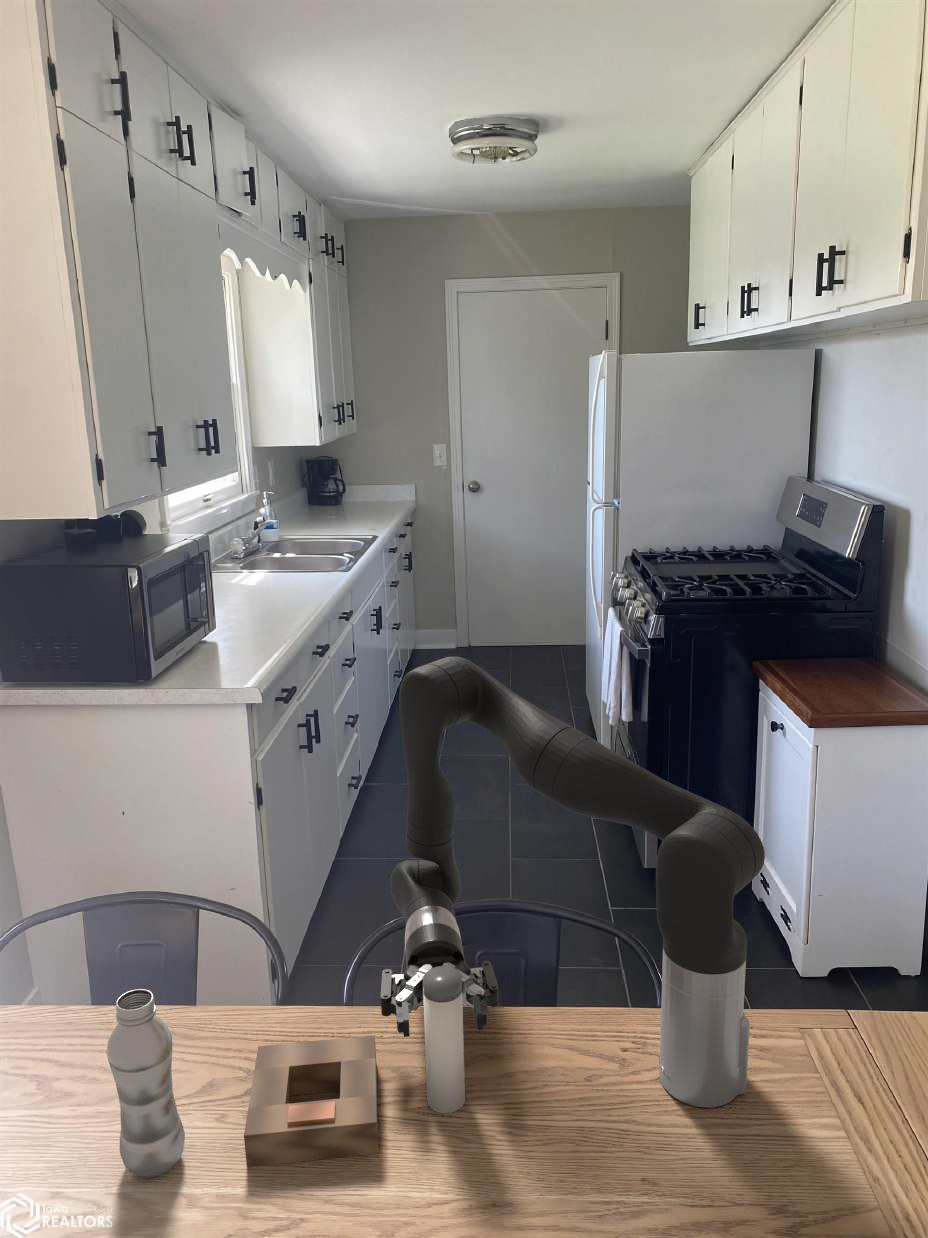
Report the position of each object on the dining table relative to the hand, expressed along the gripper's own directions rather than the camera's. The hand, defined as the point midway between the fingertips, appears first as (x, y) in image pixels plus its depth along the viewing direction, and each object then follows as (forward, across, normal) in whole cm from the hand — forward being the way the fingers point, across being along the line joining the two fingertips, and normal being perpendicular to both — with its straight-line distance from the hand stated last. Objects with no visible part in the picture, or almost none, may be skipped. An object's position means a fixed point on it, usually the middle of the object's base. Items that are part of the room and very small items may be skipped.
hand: (443, 1027), depth 107 cm
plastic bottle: (+6, -32, +9) cm, 34 cm away
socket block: (+1, -15, +9) cm, 17 cm away
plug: (+1, 0, +9) cm, 9 cm away
